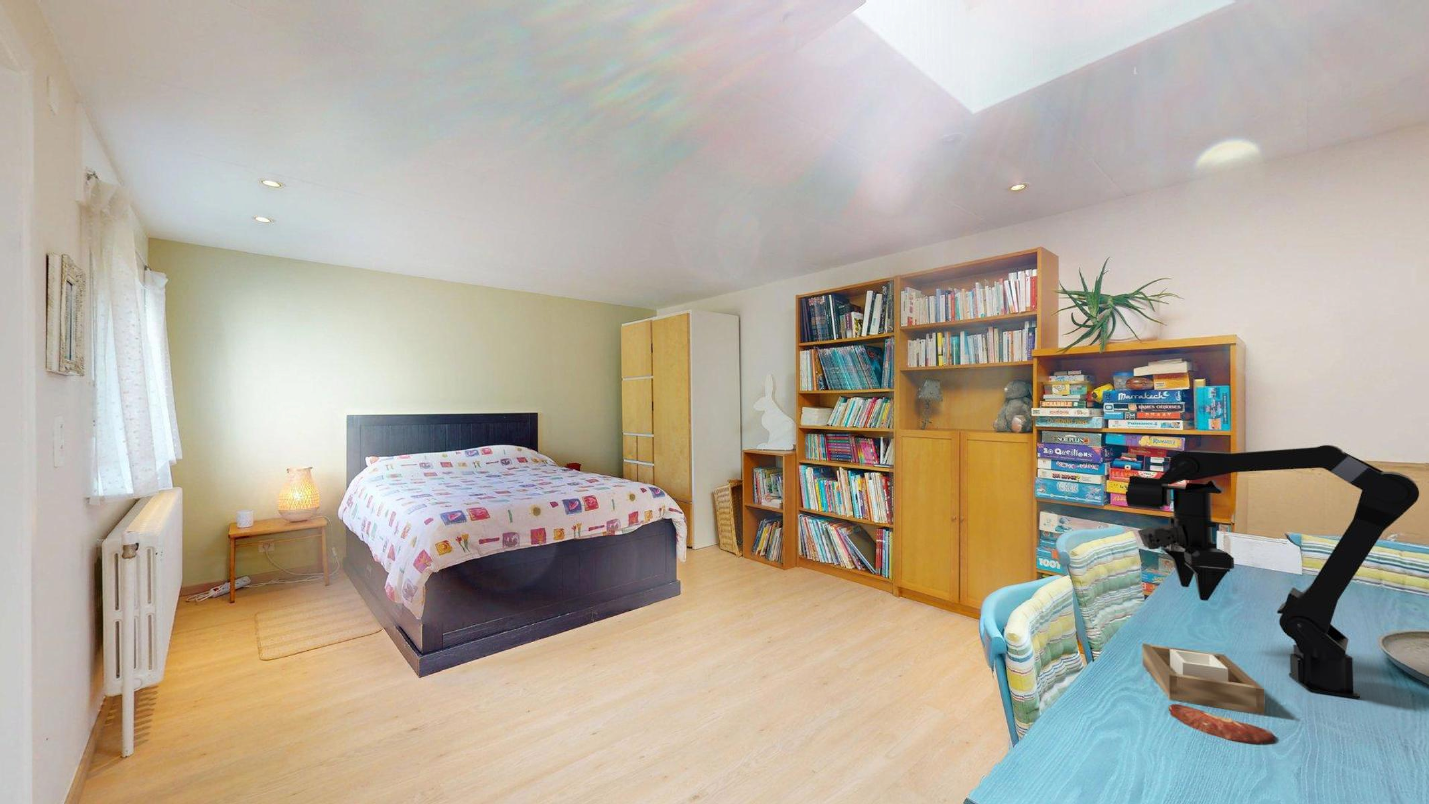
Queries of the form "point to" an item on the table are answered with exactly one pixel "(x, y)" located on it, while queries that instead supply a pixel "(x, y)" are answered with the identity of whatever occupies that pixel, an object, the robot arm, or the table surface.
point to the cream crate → (1197, 665)
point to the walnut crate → (1205, 683)
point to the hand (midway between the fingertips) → (1193, 593)
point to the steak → (1221, 726)
